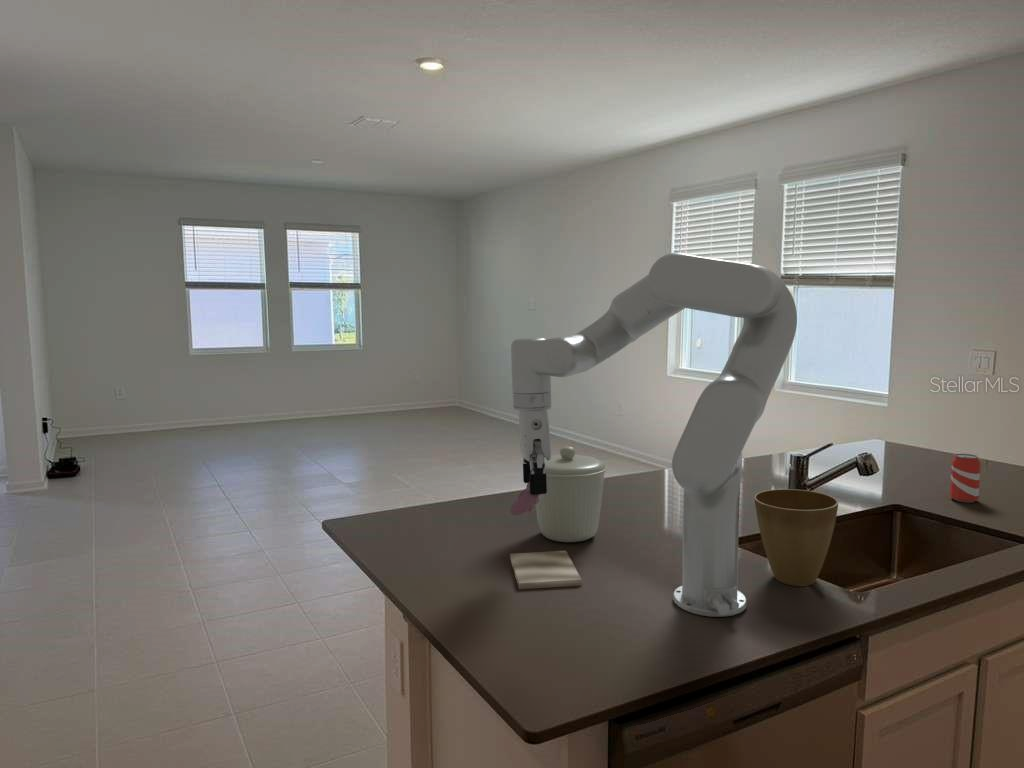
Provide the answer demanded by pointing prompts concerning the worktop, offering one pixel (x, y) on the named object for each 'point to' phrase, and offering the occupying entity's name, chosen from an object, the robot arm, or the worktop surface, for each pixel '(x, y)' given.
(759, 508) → the plant pot
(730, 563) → the robot arm
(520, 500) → the video game controller
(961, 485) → the beverage can
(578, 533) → the canister
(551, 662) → the worktop surface
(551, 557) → the birch board
